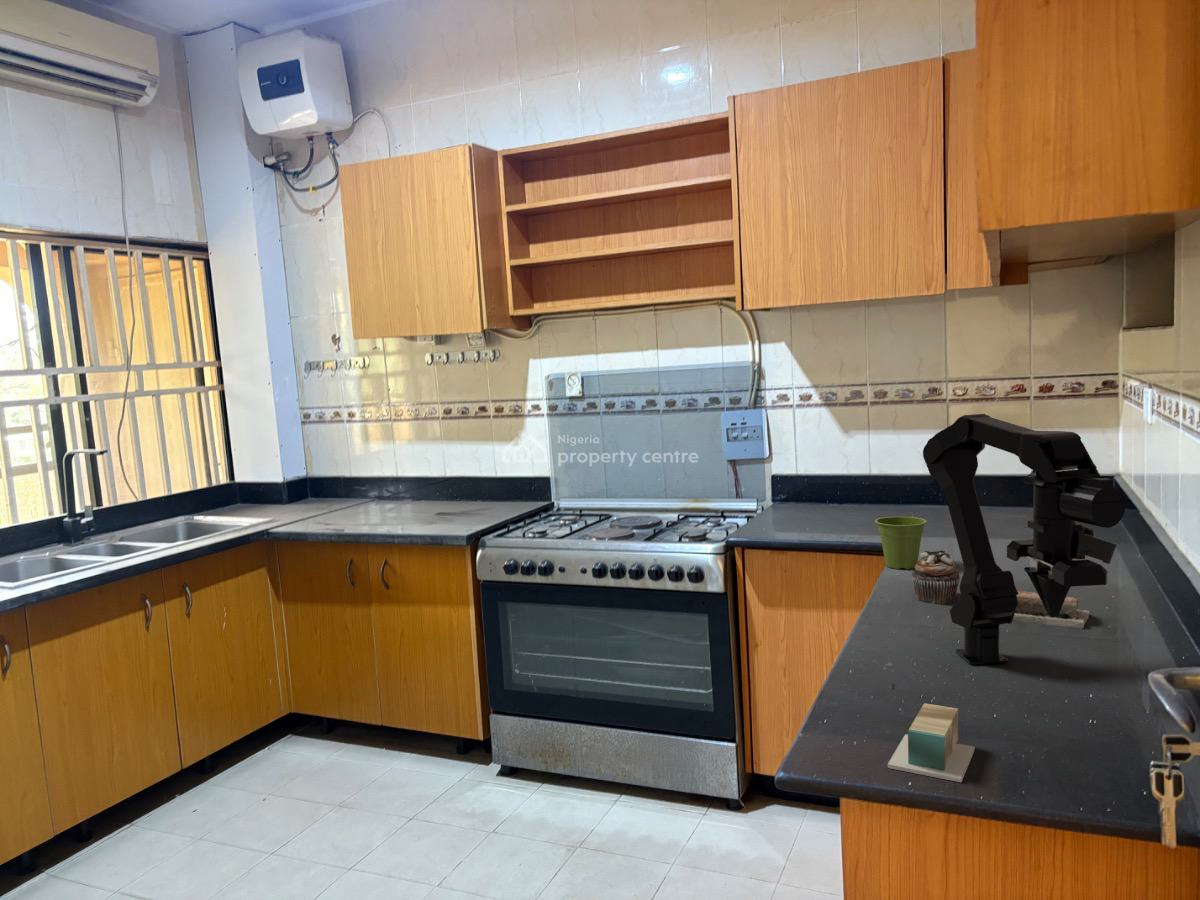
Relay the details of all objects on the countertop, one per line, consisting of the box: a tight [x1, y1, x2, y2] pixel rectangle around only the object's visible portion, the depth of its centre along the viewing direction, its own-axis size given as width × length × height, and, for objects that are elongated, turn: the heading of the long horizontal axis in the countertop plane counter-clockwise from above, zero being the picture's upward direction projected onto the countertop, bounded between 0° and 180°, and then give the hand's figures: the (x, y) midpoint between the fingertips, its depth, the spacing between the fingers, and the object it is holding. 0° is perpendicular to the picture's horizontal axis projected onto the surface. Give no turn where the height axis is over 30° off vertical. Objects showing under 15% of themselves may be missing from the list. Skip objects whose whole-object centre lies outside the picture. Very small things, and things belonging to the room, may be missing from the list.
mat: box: [887, 733, 976, 783], centre depth 118 cm, size 10×9×1 cm
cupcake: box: [911, 550, 961, 605], centre depth 189 cm, size 10×10×10 cm
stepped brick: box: [1012, 589, 1090, 630], centre depth 175 cm, size 18×5×10 cm
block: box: [907, 703, 959, 770], centre depth 119 cm, size 4×4×10 cm
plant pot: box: [874, 516, 927, 570], centre depth 217 cm, size 12×12×11 cm
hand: (1053, 616), depth 136 cm, fingers closed
